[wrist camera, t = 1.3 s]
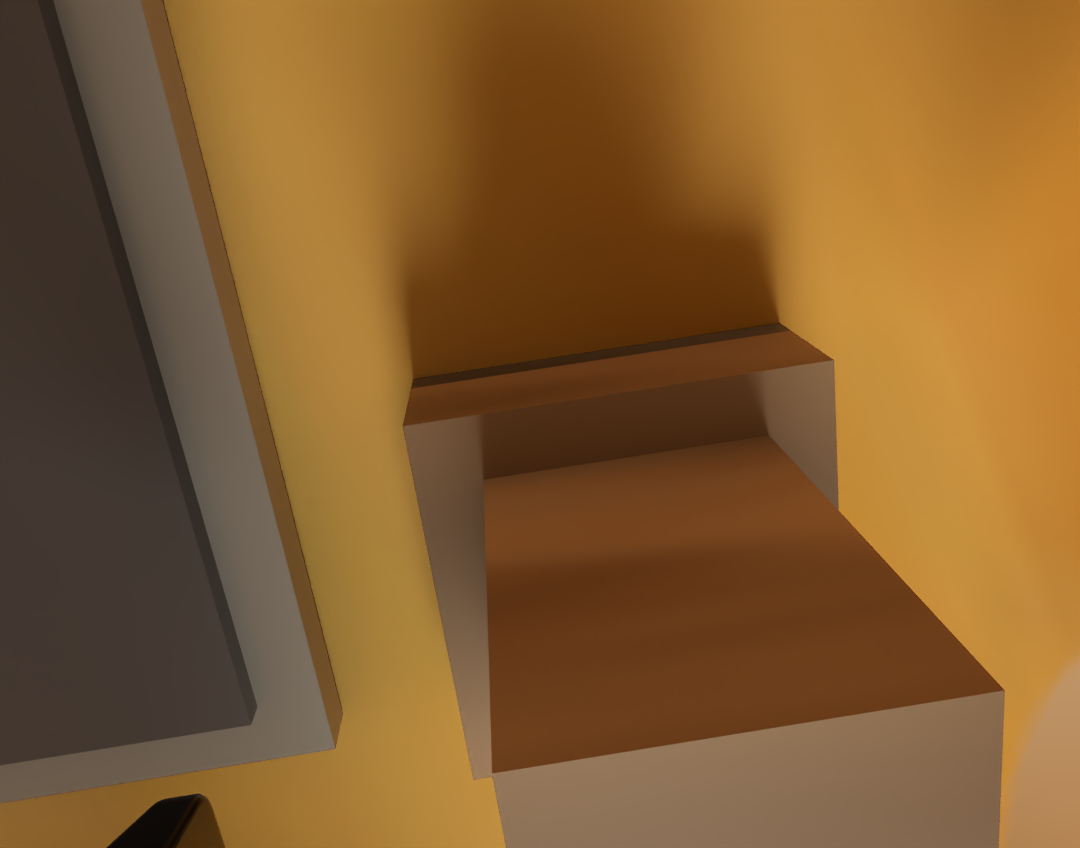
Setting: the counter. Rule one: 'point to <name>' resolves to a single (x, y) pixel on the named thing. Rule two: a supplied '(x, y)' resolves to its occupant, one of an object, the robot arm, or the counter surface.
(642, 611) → the stamp
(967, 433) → the counter surface
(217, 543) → the ink pad
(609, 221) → the counter surface
